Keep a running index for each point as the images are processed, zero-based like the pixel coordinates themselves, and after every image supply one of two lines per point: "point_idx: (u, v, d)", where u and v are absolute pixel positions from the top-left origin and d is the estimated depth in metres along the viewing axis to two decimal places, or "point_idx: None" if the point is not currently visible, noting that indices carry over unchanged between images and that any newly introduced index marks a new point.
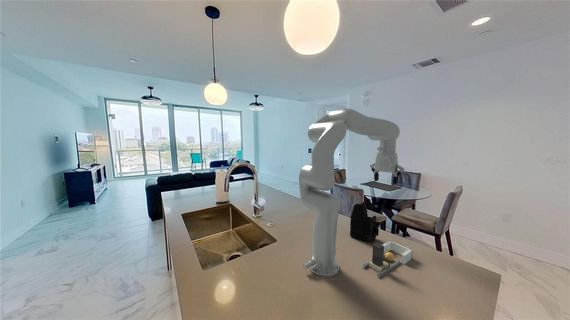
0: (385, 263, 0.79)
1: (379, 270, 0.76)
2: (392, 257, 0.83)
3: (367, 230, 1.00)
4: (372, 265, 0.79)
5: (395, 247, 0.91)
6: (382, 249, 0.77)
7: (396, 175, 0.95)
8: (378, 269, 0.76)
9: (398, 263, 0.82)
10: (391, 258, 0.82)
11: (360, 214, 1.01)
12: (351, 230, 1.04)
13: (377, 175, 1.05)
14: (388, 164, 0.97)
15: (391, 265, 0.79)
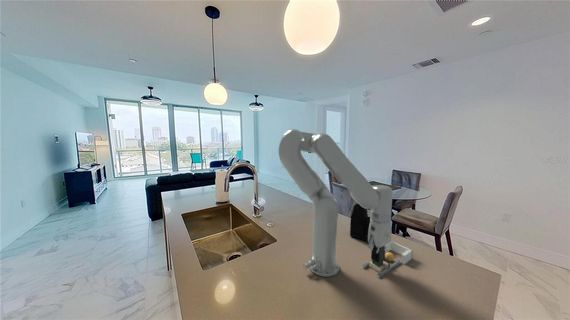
0: (385, 263, 0.79)
1: (379, 270, 0.76)
2: (392, 257, 0.83)
3: (367, 230, 1.00)
4: (372, 265, 0.79)
5: (395, 247, 0.91)
6: (382, 249, 0.77)
7: (384, 247, 0.79)
8: (378, 269, 0.76)
9: (398, 263, 0.82)
10: (391, 258, 0.82)
11: (360, 214, 1.01)
12: (351, 230, 1.04)
13: None
14: (389, 234, 0.77)
15: (391, 265, 0.79)
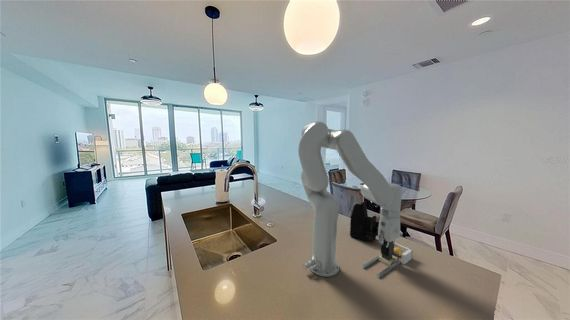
0: (394, 257, 0.83)
1: (389, 263, 0.80)
2: (400, 254, 0.87)
3: (367, 230, 1.00)
4: (382, 259, 0.83)
5: None
6: (391, 244, 0.81)
7: None
8: (388, 263, 0.81)
9: (398, 263, 0.82)
10: None
11: (360, 214, 1.01)
12: (351, 230, 1.04)
13: None
14: (398, 229, 0.81)
15: (391, 265, 0.79)
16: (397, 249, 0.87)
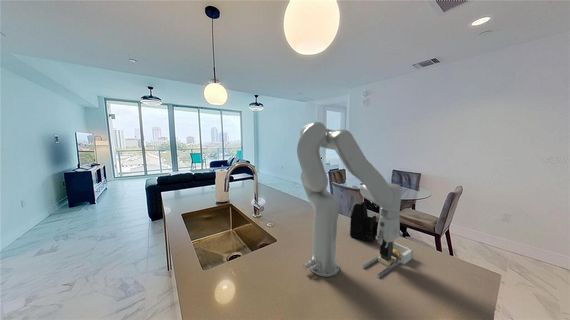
0: (393, 258, 0.83)
1: (388, 264, 0.80)
2: None
3: (367, 230, 1.00)
4: (381, 260, 0.82)
5: (395, 247, 0.91)
6: (390, 244, 0.81)
7: (393, 243, 0.83)
8: (387, 263, 0.80)
9: (398, 263, 0.82)
10: (398, 252, 0.86)
11: (360, 214, 1.01)
12: (351, 230, 1.04)
13: None
14: (397, 230, 0.80)
15: (391, 265, 0.79)
16: None
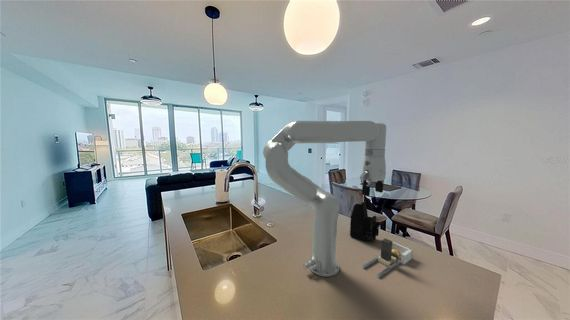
0: (393, 258, 0.83)
1: (388, 264, 0.80)
2: (398, 254, 0.86)
3: (367, 230, 1.00)
4: (381, 260, 0.82)
5: (395, 247, 0.91)
6: (390, 244, 0.81)
7: (383, 181, 0.83)
8: (387, 263, 0.80)
9: (398, 263, 0.82)
10: (398, 252, 0.86)
11: (360, 214, 1.01)
12: (351, 230, 1.04)
13: None
14: (383, 170, 0.79)
15: (391, 265, 0.79)
16: None
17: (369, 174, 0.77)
